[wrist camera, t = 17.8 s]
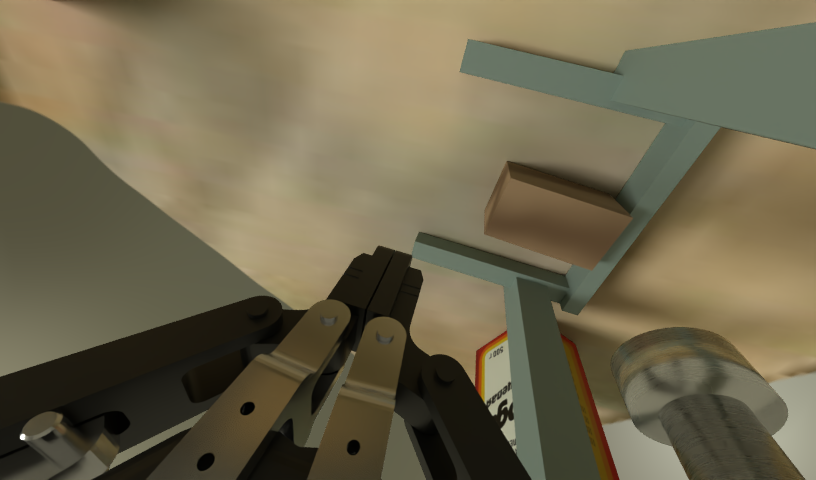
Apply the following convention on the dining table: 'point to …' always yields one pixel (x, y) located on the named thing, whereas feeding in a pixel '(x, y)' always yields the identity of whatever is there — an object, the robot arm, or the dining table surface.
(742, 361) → the ram
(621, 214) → the block
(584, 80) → the frame
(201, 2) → the dining table surface
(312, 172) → the dining table surface
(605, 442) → the baking soda box
